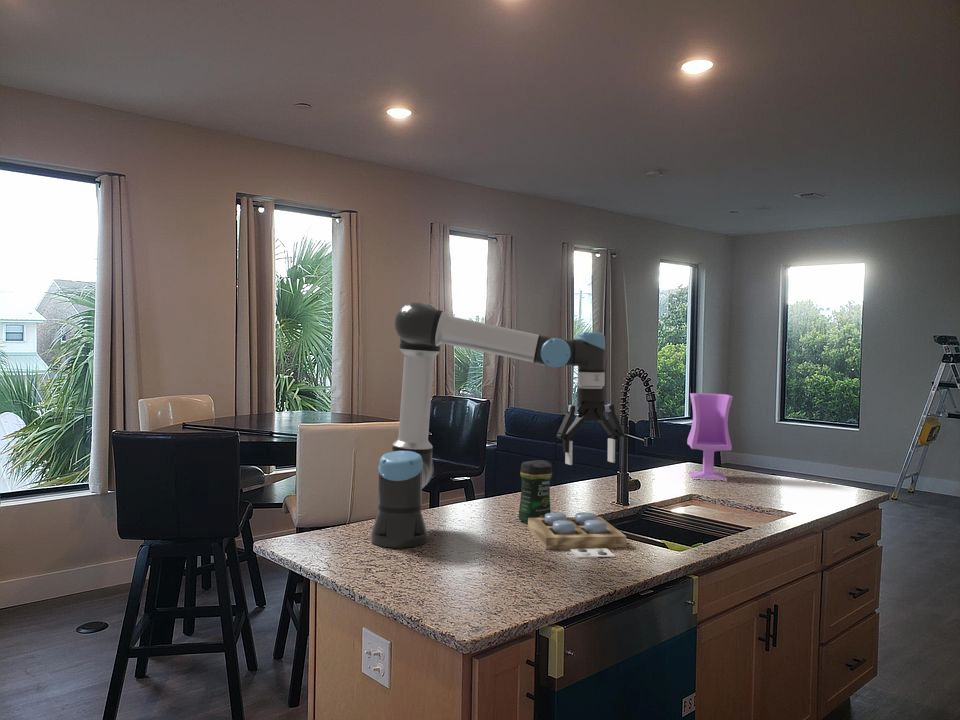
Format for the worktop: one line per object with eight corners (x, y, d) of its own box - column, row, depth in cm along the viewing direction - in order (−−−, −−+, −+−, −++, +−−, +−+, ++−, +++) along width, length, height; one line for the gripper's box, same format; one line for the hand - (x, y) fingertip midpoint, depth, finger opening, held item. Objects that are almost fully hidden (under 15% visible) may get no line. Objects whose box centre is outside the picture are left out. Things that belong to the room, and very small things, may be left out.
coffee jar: (531, 526, 213) (533, 463, 212) (514, 520, 219) (515, 460, 219) (555, 521, 218) (557, 461, 218) (538, 516, 225) (539, 457, 224)
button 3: (578, 526, 203) (578, 517, 203) (572, 521, 209) (572, 512, 208) (599, 525, 204) (599, 517, 203) (592, 520, 209) (592, 512, 209)
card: (577, 558, 181) (577, 556, 181) (569, 550, 188) (569, 548, 188) (615, 557, 182) (615, 555, 182) (606, 549, 189) (606, 547, 189)
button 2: (555, 535, 192) (556, 526, 192) (550, 529, 198) (550, 520, 198) (577, 534, 193) (577, 525, 193) (571, 529, 199) (571, 520, 199)
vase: (690, 480, 294) (693, 395, 294) (686, 473, 310) (688, 392, 309) (730, 482, 292) (733, 396, 291) (724, 475, 307) (726, 394, 306)
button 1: (547, 526, 201) (547, 517, 201) (542, 521, 207) (542, 512, 207) (568, 526, 202) (568, 517, 202) (562, 521, 208) (562, 512, 208)
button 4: (588, 534, 194) (588, 525, 194) (581, 529, 200) (581, 520, 200) (609, 534, 195) (609, 525, 195) (602, 528, 201) (602, 519, 201)
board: (546, 549, 188) (546, 537, 188) (527, 528, 210) (528, 517, 210) (626, 547, 192) (626, 536, 192) (600, 526, 213) (600, 516, 213)
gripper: (557, 388, 193) (556, 467, 193) (636, 387, 202) (635, 462, 202) (545, 387, 200) (544, 463, 200) (622, 386, 209) (621, 458, 209)
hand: (590, 463), depth 201 cm, fingers open, 13 cm apart
